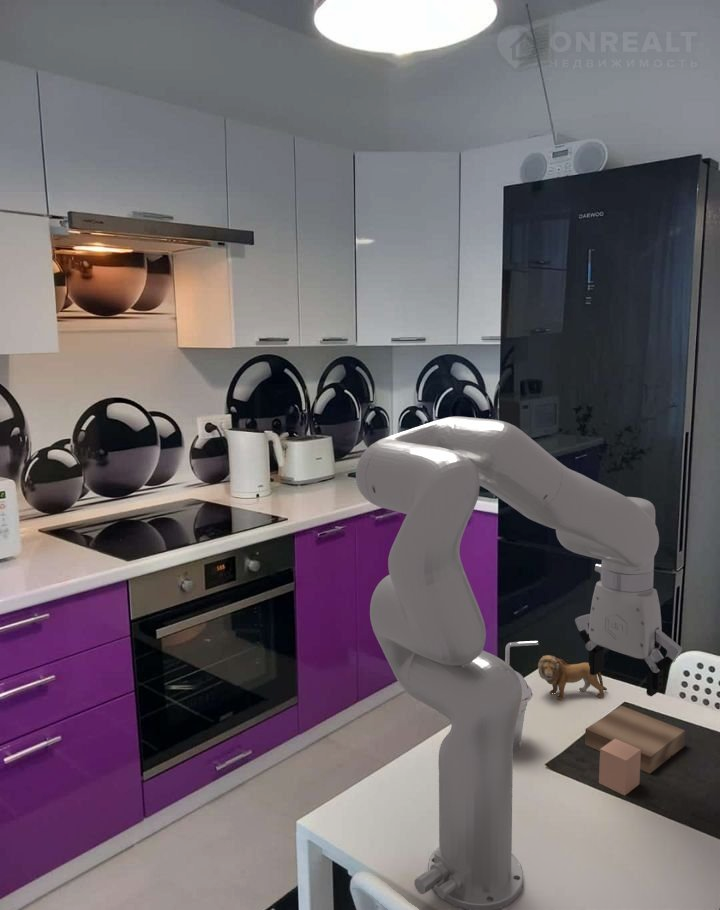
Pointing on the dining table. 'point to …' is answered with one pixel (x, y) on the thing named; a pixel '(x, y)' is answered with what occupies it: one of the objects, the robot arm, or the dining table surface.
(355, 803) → the dining table surface
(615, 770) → the terracotta block
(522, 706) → the cup with straw
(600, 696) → the lion figurine
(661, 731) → the walnut base
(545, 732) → the dining table surface
